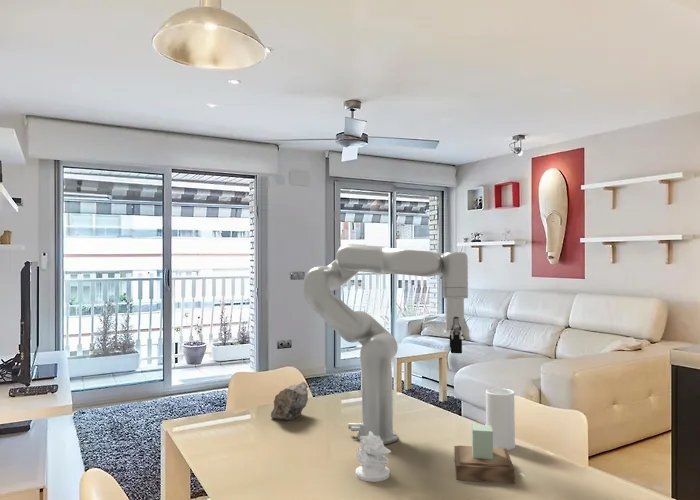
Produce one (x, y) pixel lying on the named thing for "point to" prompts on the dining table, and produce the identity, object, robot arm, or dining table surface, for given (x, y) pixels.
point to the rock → (290, 402)
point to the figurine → (372, 459)
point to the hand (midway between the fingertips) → (455, 350)
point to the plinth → (483, 466)
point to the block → (482, 441)
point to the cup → (501, 417)
